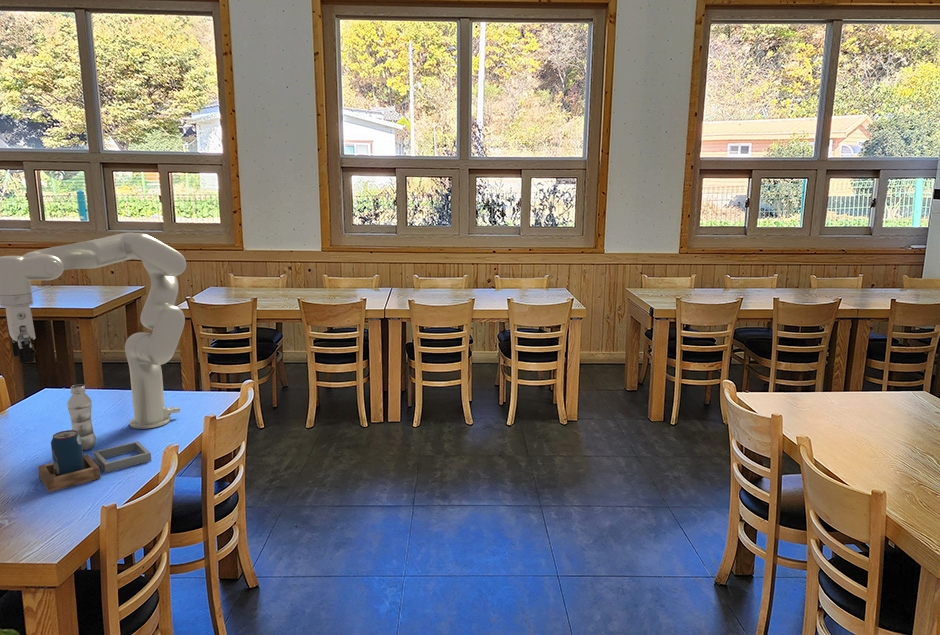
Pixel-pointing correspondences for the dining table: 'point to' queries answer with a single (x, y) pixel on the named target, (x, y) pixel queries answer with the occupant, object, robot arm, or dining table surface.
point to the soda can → (67, 452)
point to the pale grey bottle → (81, 415)
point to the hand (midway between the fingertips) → (23, 358)
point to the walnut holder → (68, 475)
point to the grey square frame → (125, 462)
